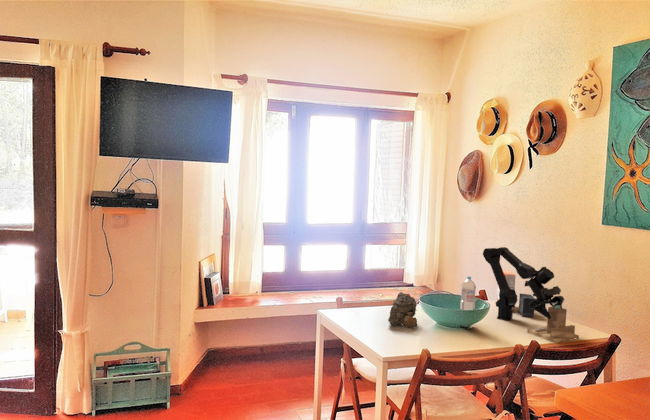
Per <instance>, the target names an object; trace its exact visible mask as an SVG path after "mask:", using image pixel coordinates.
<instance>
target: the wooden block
mask: <svg viewBox="0 0 650 420" xmlns="http://www.w3.org/2000/svg"><path fill="white" fill-rule="evenodd" d="M547 311H548V313H549V314H550V316H551V319H548V318H547V319H546V320H547V321H546V326H547V332H548V333H550V332H551V328H557V327H563V326H567V325H566V324H567V323H566V321H567V308H563V307H562V308H560V306H559V305H558V306H555V307H552V306H549V307H548V309H547Z"/></svg>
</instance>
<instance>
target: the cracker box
mask: <svg viewBox="0 0 650 420" xmlns="http://www.w3.org/2000/svg"><path fill="white" fill-rule="evenodd" d="M502 270H503V273H504V275H505V278H506V280H507V283H508V286H509V288H510V289H511V290H513V289H514V290H515V291H516V288H515V287H516V274H515V273H513V272H512V271H510V270H509V269H502ZM499 292H500V289H499V286H498V285H497V295H496V302H497V301H498V300H499V299H500V298H499ZM514 308H515V306H514V307H512V310H513V311H515V310H514Z"/></svg>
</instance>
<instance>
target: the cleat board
mask: <svg viewBox="0 0 650 420" xmlns="http://www.w3.org/2000/svg"><path fill="white" fill-rule="evenodd" d="M526 330H527V331H526V333H528V334H530V335H534V336H536V337H539V338H541V337H542V339H544V338H545V339H544V340H547V339H548V340H547V341H549V340H551V341H550V342H552V341H554V342H553V343H555V342H558V343H561V342H560V341H563V342H566V341H565V340H569V341H571V340H570V339H574V338H580V335H579V334H576V333H575V330H576V325H574V324H573V325H572V324H569V325H565V326H563V327H557V328H551V332H550V333H548V332H547V325H545V326H540V327H539V326H538V327H532V328H527V329H526ZM574 340H575V339H574Z"/></svg>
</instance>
